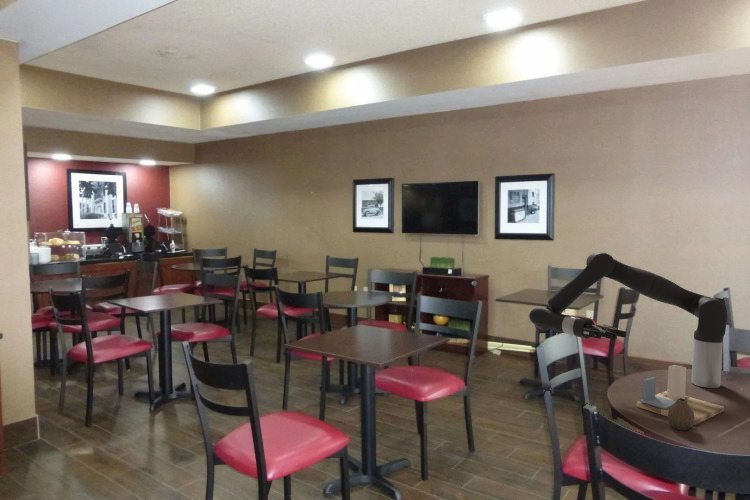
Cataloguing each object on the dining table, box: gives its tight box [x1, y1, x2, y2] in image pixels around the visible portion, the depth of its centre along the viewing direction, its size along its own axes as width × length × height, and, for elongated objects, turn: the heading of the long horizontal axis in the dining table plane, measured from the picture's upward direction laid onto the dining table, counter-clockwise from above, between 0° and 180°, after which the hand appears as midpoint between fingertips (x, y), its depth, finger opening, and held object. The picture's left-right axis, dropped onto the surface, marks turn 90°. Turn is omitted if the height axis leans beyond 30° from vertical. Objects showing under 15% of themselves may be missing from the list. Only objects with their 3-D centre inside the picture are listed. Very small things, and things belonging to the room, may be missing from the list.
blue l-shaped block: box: [639, 376, 675, 409], centre depth 168 cm, size 8×8×7 cm
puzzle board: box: [636, 390, 725, 426], centre depth 169 cm, size 20×18×2 cm
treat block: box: [666, 364, 687, 400], centre depth 175 cm, size 4×4×12 cm
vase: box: [667, 398, 695, 431], centre depth 154 cm, size 7×7×9 cm
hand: (620, 335), depth 179 cm, fingers open, 5 cm apart
